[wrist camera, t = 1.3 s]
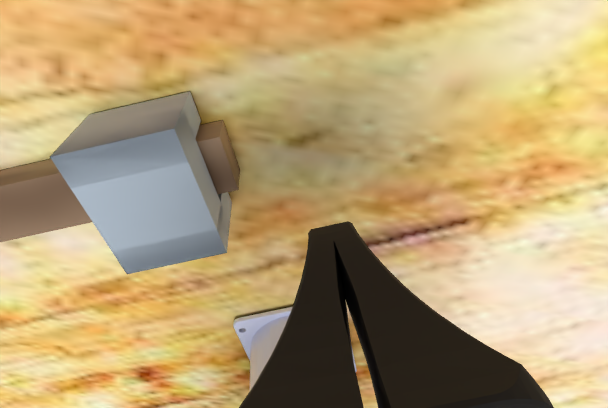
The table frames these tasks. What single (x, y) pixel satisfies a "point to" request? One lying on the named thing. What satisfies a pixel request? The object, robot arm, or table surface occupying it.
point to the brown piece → (64, 204)
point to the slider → (147, 183)
